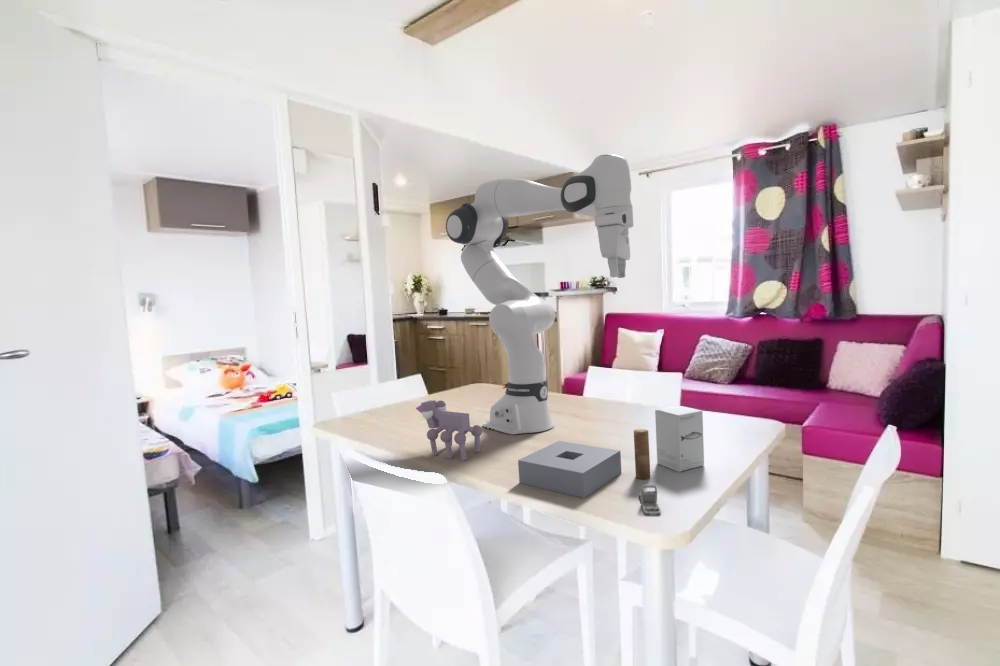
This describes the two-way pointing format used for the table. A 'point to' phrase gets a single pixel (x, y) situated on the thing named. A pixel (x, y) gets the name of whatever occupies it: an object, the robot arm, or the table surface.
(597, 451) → the hole block
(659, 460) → the supplement box
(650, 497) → the strap clip
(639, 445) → the walnut peg
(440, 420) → the toy sheep
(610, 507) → the table surface
